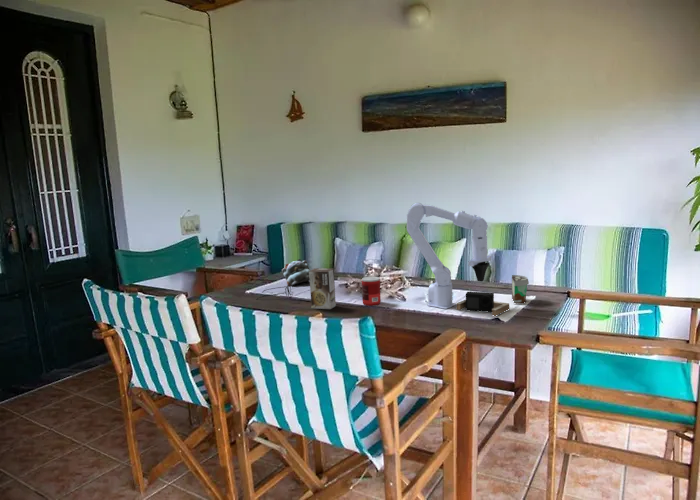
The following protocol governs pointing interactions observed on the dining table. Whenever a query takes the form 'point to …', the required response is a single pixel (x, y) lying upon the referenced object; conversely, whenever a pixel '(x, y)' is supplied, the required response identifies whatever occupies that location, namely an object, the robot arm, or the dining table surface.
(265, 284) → the dining table surface
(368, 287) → the canned food
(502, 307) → the frame
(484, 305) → the digital camera
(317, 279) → the coffee box
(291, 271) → the grey lumpy clump
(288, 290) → the glasses
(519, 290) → the food container
